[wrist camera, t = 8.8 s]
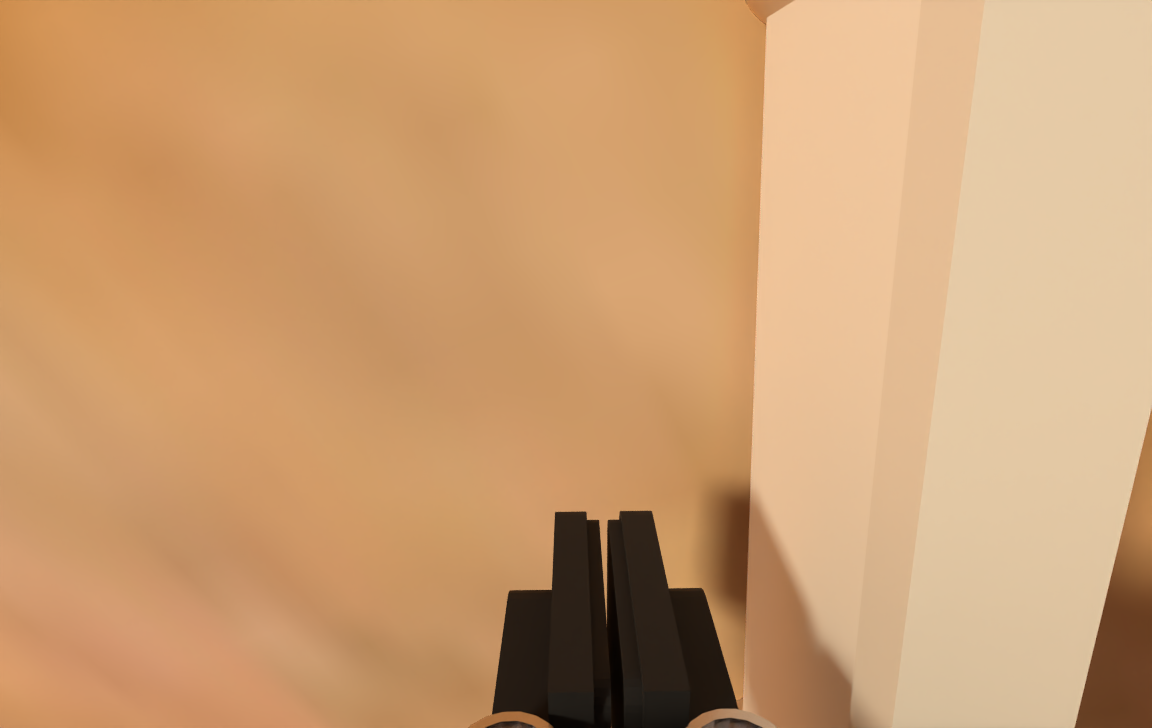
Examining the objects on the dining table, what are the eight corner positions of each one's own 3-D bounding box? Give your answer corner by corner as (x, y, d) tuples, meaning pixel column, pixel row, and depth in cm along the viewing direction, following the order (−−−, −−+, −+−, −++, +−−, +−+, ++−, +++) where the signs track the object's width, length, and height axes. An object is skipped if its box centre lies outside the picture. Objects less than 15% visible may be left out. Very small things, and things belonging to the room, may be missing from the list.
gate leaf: (862, -105, 11) (1404, -570, 4) (800, 753, 17) (960, 1230, 10) (741, -97, 11) (1034, -537, 4) (721, 755, 18) (820, 1230, 10)
